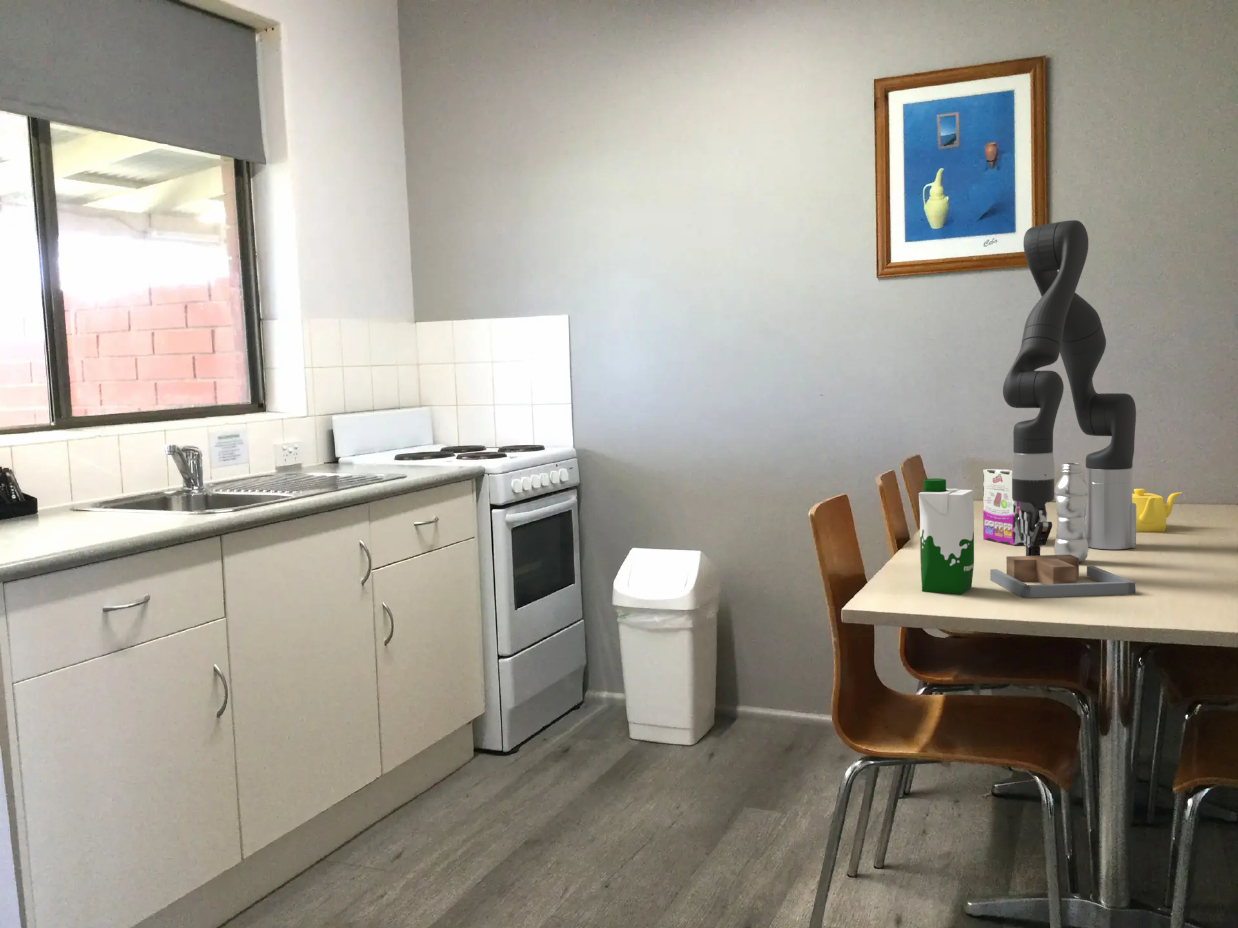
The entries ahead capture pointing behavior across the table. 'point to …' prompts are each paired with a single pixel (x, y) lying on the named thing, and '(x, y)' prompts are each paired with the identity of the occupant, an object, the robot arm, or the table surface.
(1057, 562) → the t block
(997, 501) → the candy bar box
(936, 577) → the soya milk
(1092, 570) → the bay frame
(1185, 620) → the table surface
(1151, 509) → the teapot
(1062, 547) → the plastic bottle
